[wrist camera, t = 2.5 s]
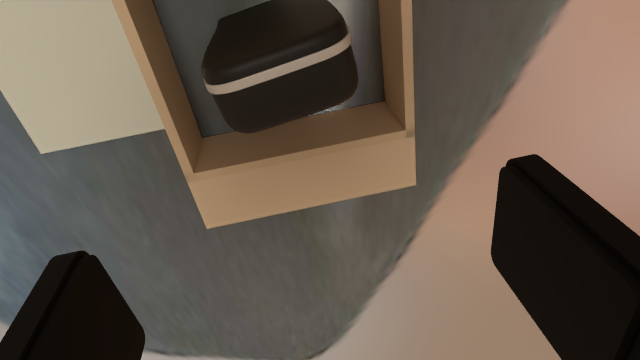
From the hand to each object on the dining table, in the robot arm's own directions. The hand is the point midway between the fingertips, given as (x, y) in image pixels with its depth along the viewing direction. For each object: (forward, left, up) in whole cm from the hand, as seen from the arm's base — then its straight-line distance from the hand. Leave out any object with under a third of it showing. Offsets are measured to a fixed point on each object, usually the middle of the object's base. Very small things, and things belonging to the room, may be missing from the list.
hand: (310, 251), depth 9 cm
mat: (+13, -1, -21) cm, 25 cm away
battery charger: (0, 0, -21) cm, 21 cm away
